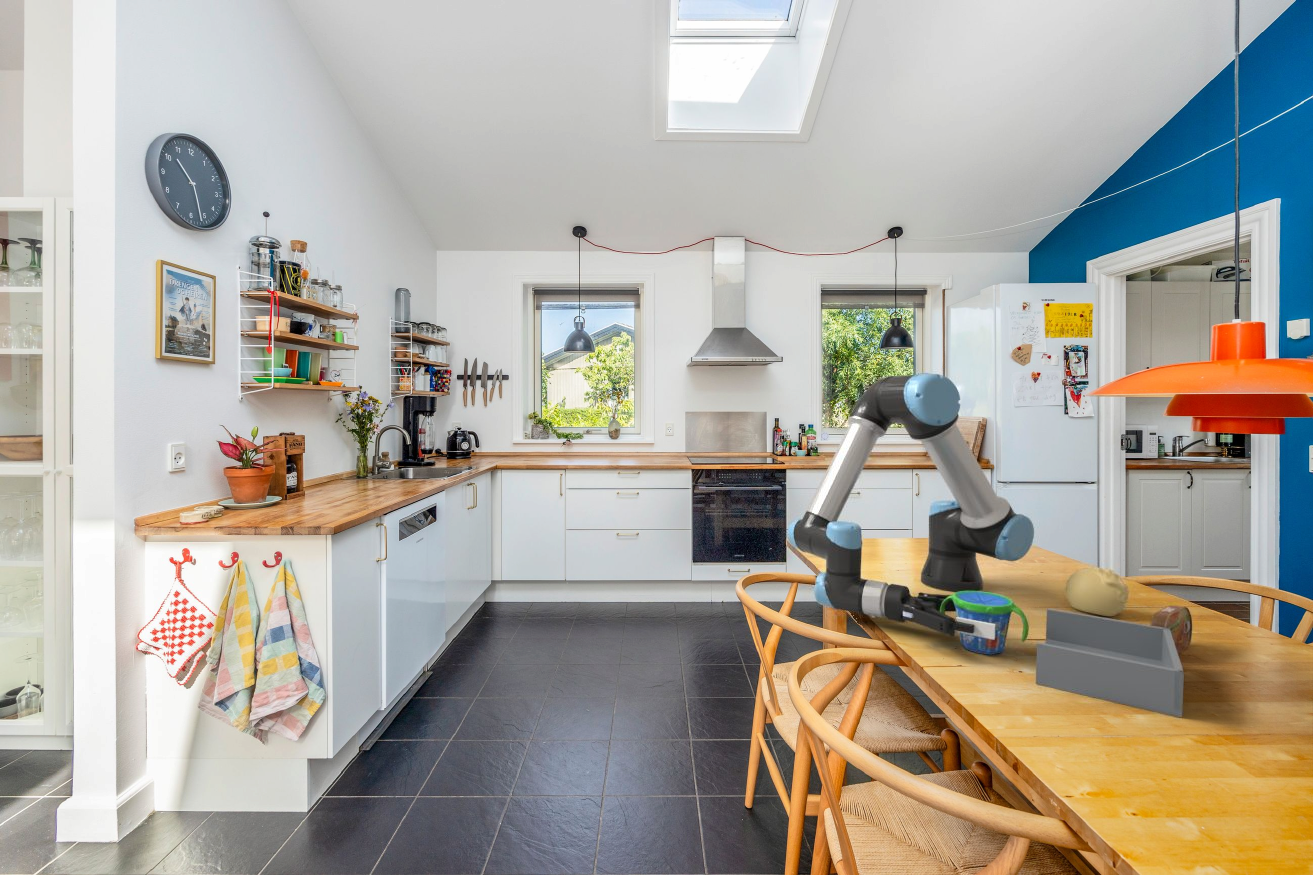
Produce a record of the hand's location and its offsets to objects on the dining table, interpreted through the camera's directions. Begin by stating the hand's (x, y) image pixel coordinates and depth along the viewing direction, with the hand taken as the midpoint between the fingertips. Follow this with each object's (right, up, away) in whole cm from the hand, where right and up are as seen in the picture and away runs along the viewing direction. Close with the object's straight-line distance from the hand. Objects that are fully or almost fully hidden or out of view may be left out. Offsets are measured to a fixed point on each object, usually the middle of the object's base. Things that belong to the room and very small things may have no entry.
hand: (1000, 621), depth 117 cm
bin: (+14, -6, -10) cm, 18 cm away
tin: (+35, -6, +2) cm, 35 cm away
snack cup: (-3, -6, +2) cm, 7 cm away
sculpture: (+37, -6, +25) cm, 45 cm away
